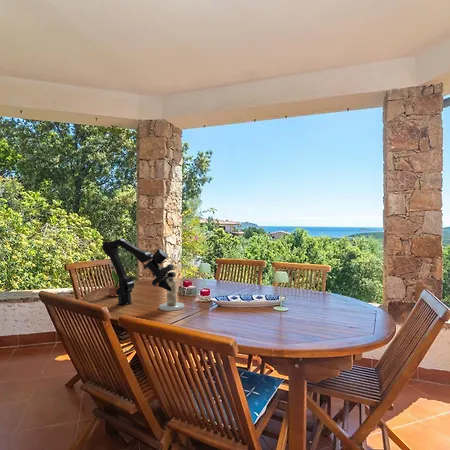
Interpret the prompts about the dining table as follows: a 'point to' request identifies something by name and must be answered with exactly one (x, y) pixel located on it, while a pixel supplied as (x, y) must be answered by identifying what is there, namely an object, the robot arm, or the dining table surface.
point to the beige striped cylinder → (171, 292)
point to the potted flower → (116, 279)
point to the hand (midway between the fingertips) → (173, 289)
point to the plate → (171, 307)
